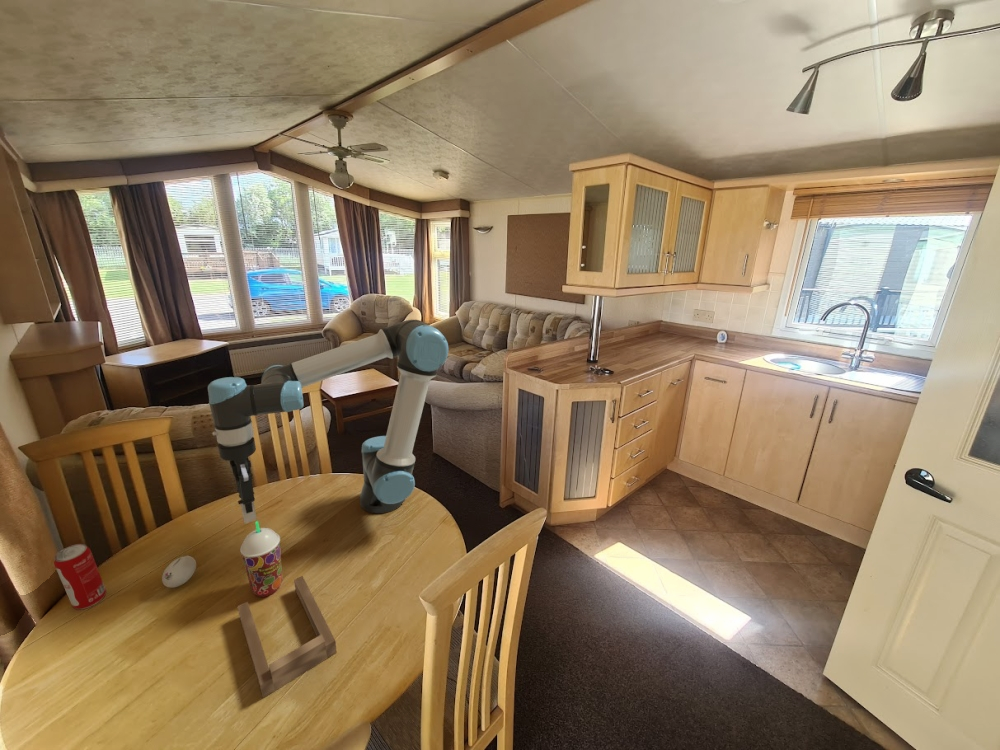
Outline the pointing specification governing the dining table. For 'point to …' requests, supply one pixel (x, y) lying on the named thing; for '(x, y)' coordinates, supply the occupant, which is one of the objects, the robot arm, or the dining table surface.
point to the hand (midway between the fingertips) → (250, 520)
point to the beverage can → (80, 576)
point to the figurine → (179, 571)
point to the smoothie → (262, 560)
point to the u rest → (297, 659)
